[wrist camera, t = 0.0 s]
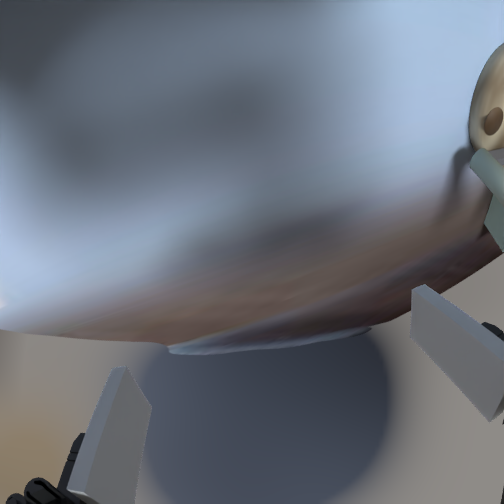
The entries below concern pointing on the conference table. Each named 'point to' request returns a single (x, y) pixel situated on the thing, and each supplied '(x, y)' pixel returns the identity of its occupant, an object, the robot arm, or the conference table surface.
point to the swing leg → (490, 170)
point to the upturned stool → (489, 105)
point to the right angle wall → (496, 221)
